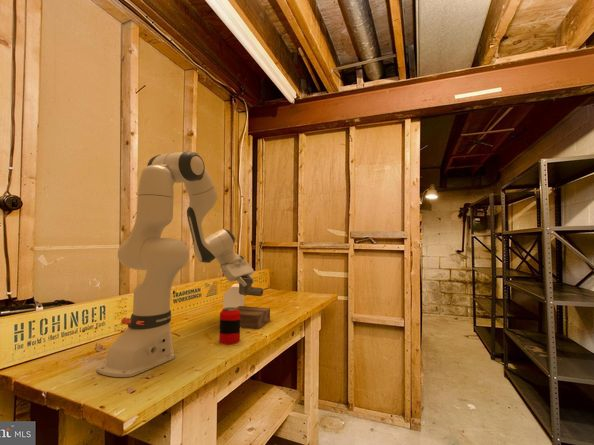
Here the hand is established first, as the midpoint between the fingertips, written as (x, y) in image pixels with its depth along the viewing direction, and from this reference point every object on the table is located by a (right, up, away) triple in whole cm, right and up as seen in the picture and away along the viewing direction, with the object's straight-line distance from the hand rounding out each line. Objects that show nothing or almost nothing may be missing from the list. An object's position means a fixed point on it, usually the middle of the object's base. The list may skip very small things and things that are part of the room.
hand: (249, 284), depth 134 cm
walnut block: (-1, -18, -1) cm, 18 cm away
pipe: (0, -5, 0) cm, 5 cm away
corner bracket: (-14, -19, +31) cm, 39 cm away
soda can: (-4, -17, -24) cm, 29 cm away
